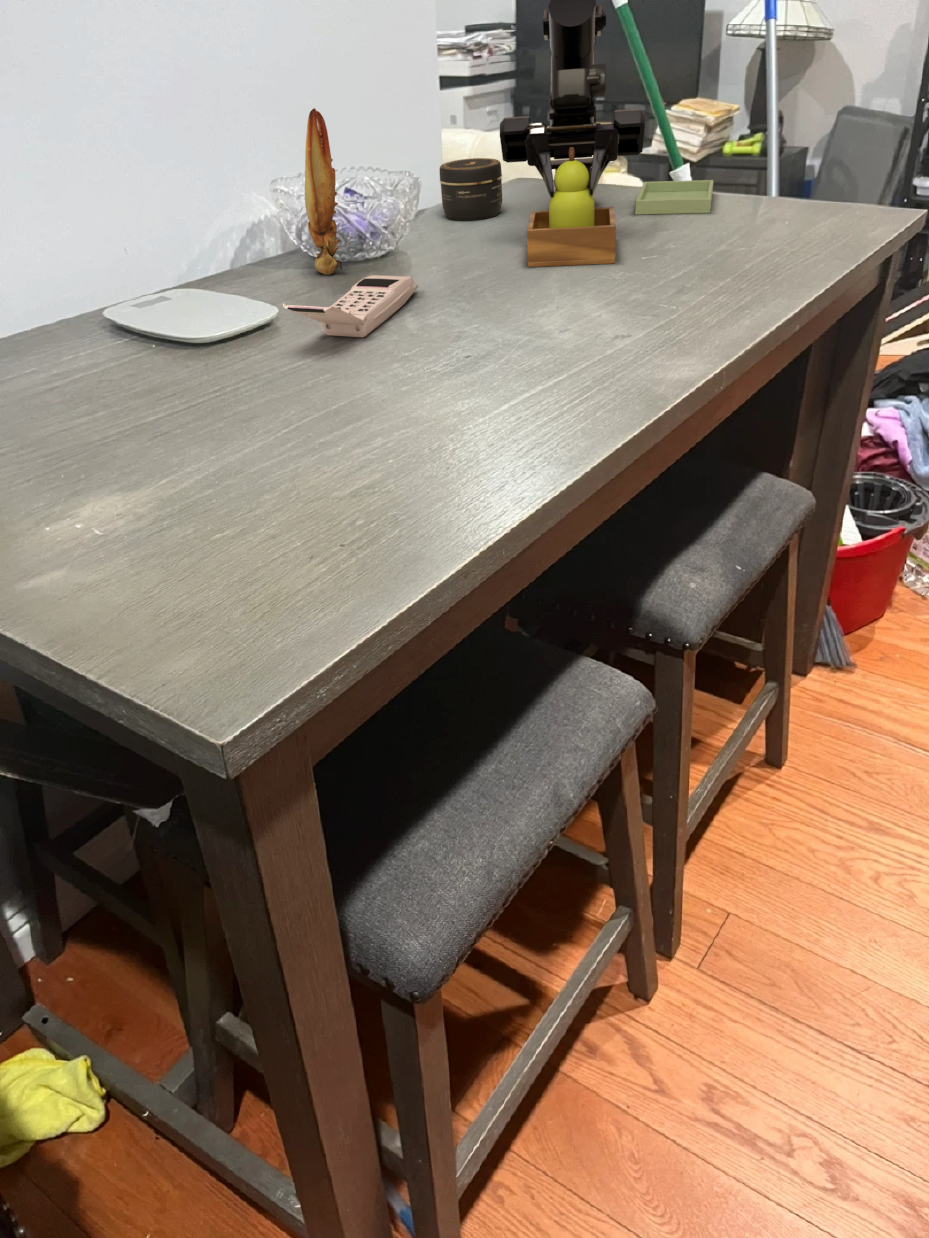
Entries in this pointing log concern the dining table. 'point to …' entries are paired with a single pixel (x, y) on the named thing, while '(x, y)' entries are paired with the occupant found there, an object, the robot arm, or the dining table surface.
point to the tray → (675, 197)
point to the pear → (571, 196)
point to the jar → (471, 188)
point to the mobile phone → (361, 306)
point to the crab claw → (320, 193)
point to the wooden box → (571, 241)
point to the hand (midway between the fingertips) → (571, 194)
